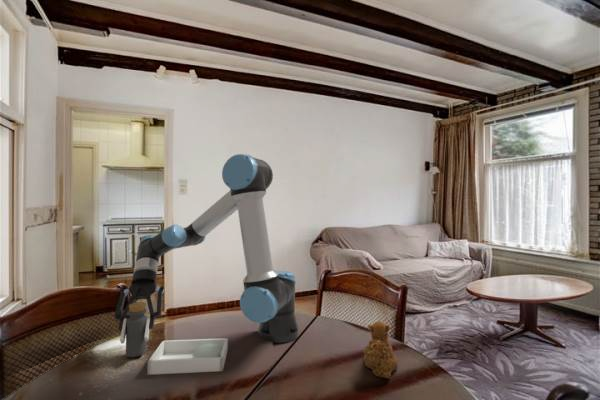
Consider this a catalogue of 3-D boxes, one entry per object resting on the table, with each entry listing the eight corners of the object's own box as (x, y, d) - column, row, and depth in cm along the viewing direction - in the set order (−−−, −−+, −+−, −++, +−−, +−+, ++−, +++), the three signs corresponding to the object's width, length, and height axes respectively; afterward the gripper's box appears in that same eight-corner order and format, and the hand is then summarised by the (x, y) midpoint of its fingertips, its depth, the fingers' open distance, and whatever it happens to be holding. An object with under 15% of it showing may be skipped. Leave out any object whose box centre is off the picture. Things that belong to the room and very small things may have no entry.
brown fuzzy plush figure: (397, 361, 95) (398, 318, 95) (399, 387, 82) (399, 337, 82) (364, 356, 98) (365, 314, 98) (360, 380, 84) (361, 332, 85)
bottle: (137, 358, 93) (138, 308, 93) (121, 356, 94) (122, 306, 94) (151, 349, 98) (151, 302, 99) (135, 347, 99) (135, 300, 100)
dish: (220, 352, 97) (221, 342, 97) (219, 365, 89) (220, 355, 89) (194, 354, 95) (194, 344, 95) (190, 368, 87) (190, 357, 87)
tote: (227, 352, 99) (228, 338, 99) (222, 374, 86) (223, 358, 86) (162, 355, 96) (162, 340, 97) (147, 378, 84) (147, 361, 84)
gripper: (174, 278, 114) (168, 341, 98) (117, 281, 108) (101, 349, 92) (173, 266, 109) (167, 331, 93) (113, 269, 103) (95, 338, 87)
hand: (134, 340), depth 93 cm, fingers closed on bottle, 6 cm apart
